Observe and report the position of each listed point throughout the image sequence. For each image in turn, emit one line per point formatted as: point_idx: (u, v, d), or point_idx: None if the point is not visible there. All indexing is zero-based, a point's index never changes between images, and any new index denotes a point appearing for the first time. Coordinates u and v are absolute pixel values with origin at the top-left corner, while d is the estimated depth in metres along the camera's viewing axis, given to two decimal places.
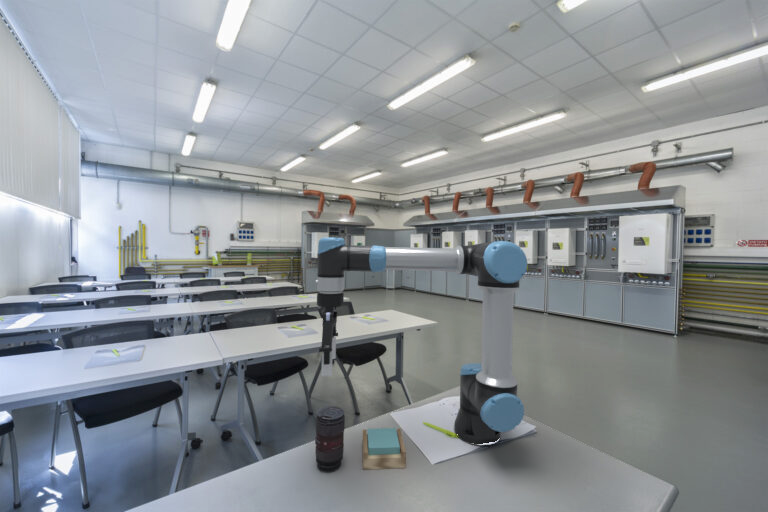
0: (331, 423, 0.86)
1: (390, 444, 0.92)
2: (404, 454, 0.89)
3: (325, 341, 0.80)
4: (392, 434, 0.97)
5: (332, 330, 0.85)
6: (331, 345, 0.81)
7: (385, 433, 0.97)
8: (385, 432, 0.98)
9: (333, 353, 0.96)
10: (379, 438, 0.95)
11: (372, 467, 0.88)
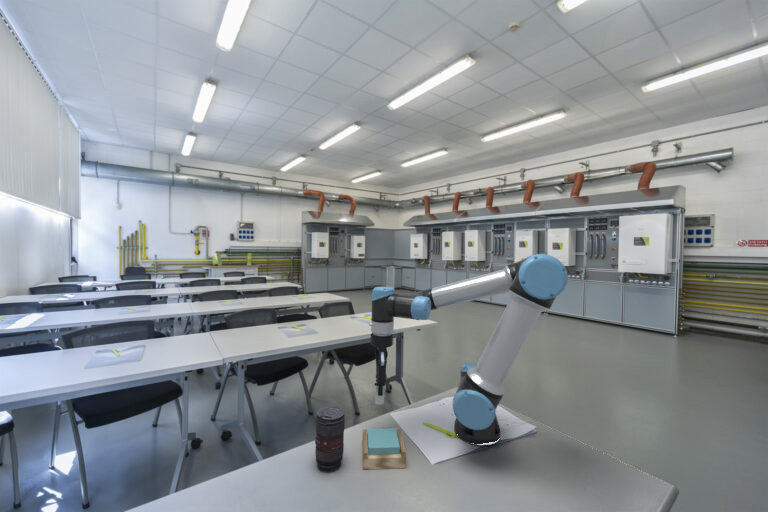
0: (331, 423, 0.86)
1: (390, 444, 0.92)
2: (404, 454, 0.89)
3: (380, 380, 1.01)
4: (392, 434, 0.97)
5: None
6: None
7: (385, 433, 0.97)
8: (385, 432, 0.98)
9: None
10: (379, 438, 0.95)
11: (372, 467, 0.88)
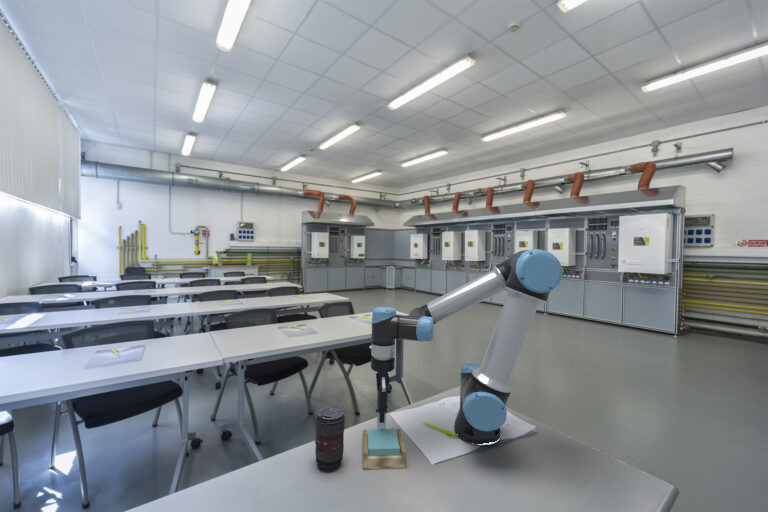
0: (331, 423, 0.86)
1: (389, 445, 0.91)
2: (404, 454, 0.89)
3: (382, 407, 0.96)
4: (392, 435, 0.96)
5: None
6: None
7: (385, 434, 0.97)
8: (385, 433, 0.97)
9: None
10: (379, 439, 0.94)
11: (372, 467, 0.88)
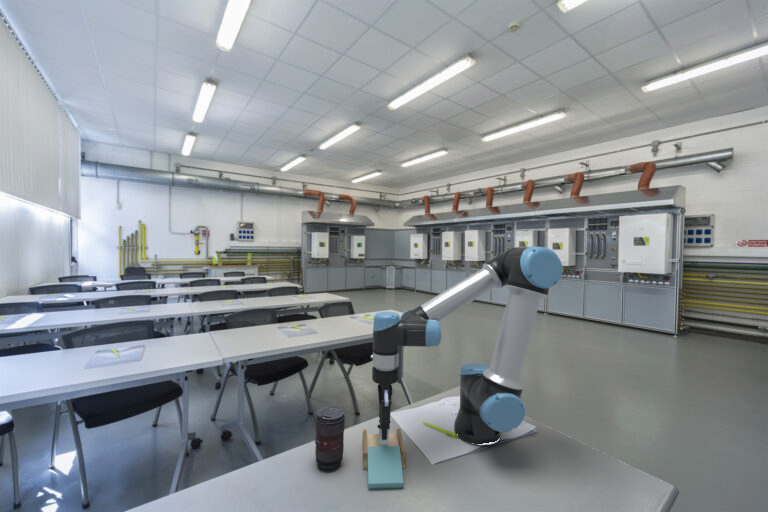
0: (331, 423, 0.86)
1: (392, 476, 0.82)
2: (404, 454, 0.89)
3: (384, 423, 0.87)
4: (395, 457, 0.87)
5: None
6: None
7: (388, 455, 0.87)
8: (387, 454, 0.87)
9: None
10: (380, 464, 0.85)
11: None
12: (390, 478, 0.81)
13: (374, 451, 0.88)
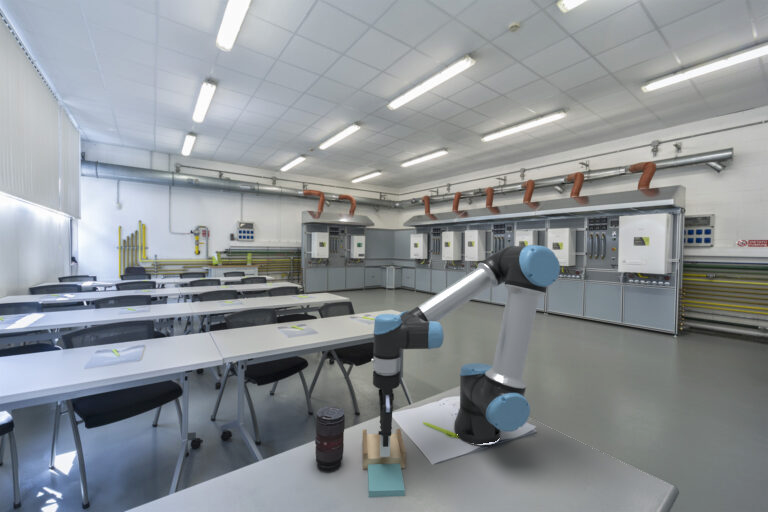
0: (331, 423, 0.86)
1: (393, 485, 0.80)
2: (404, 454, 0.89)
3: (385, 429, 0.84)
4: (396, 472, 0.85)
5: None
6: None
7: (388, 470, 0.86)
8: (388, 469, 0.86)
9: None
10: (381, 477, 0.83)
11: None
12: (391, 487, 0.80)
13: (374, 467, 0.87)
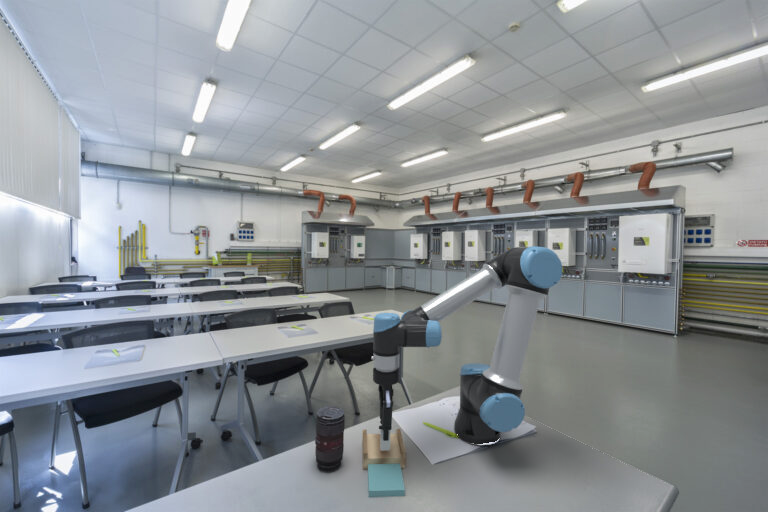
0: (331, 423, 0.86)
1: (393, 485, 0.80)
2: (404, 454, 0.89)
3: (386, 424, 0.87)
4: (396, 471, 0.85)
5: None
6: None
7: (388, 470, 0.86)
8: (388, 469, 0.86)
9: None
10: (381, 477, 0.83)
11: None
12: (391, 487, 0.80)
13: (374, 467, 0.87)
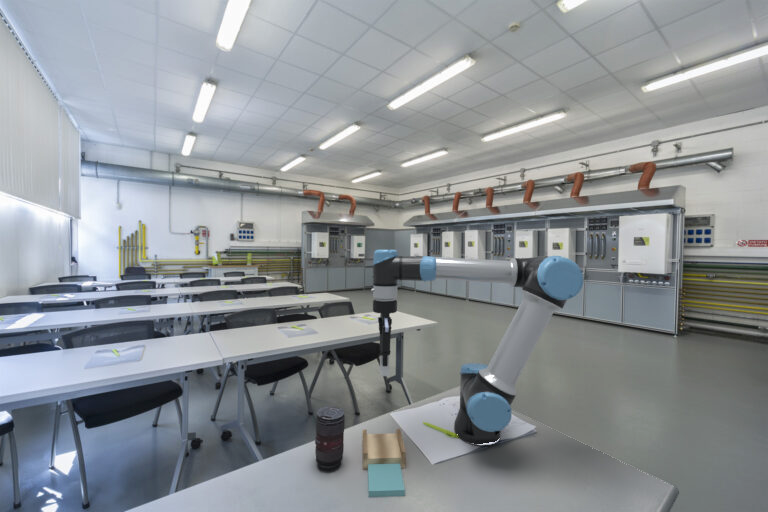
0: (331, 423, 0.86)
1: (393, 485, 0.80)
2: (404, 454, 0.89)
3: (385, 348, 0.94)
4: (396, 471, 0.85)
5: None
6: None
7: (388, 470, 0.86)
8: (388, 469, 0.86)
9: None
10: (381, 477, 0.83)
11: None
12: (391, 487, 0.80)
13: (374, 467, 0.87)
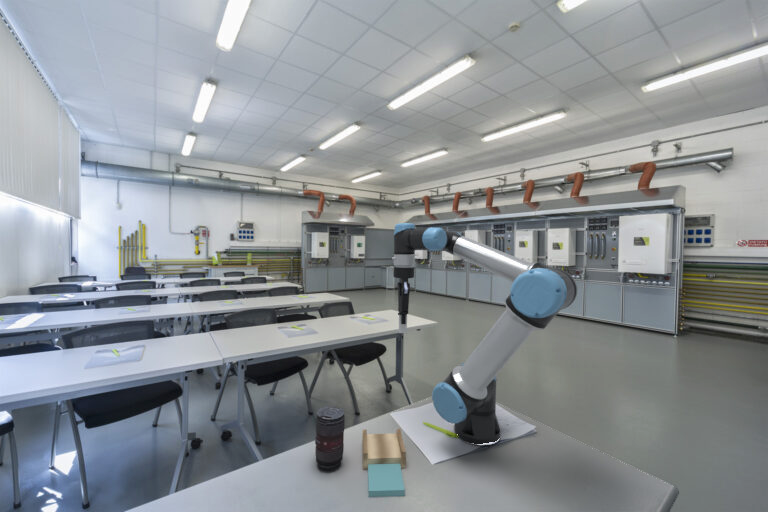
0: (331, 423, 0.86)
1: (393, 485, 0.80)
2: (404, 454, 0.89)
3: (404, 308, 1.09)
4: (396, 471, 0.85)
5: None
6: (407, 309, 1.10)
7: (388, 470, 0.86)
8: (388, 469, 0.86)
9: None
10: (381, 477, 0.83)
11: None
12: (391, 487, 0.80)
13: (374, 467, 0.87)
